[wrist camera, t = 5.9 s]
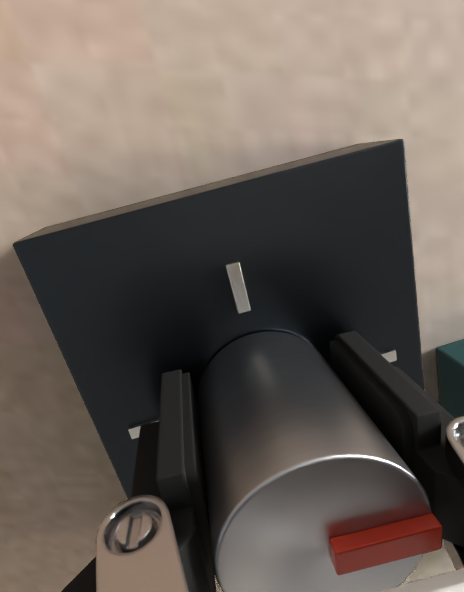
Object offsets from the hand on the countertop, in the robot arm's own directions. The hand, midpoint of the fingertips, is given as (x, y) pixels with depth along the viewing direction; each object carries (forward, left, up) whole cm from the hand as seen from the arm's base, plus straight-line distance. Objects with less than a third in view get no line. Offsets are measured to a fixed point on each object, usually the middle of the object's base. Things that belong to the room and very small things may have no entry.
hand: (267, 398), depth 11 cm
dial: (0, 0, 0) cm, 0 cm away
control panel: (0, 0, -3) cm, 3 cm away
